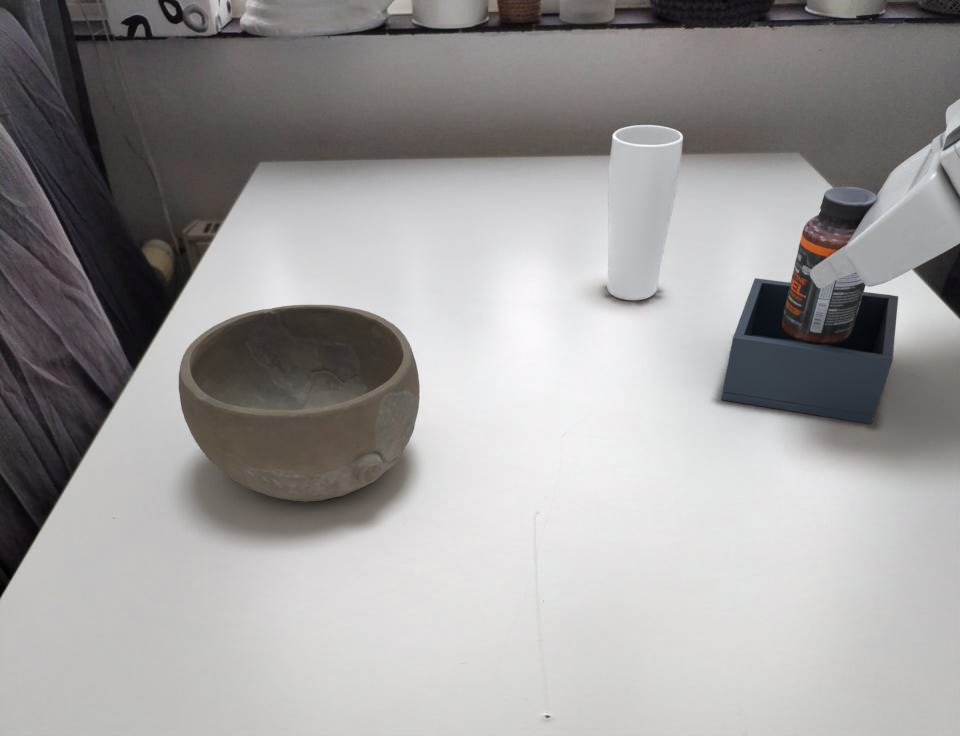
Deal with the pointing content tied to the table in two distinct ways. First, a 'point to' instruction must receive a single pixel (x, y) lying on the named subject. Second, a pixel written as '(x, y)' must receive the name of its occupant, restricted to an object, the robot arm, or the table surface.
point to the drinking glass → (640, 206)
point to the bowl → (301, 399)
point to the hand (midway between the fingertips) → (825, 262)
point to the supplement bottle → (836, 305)
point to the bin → (810, 359)
